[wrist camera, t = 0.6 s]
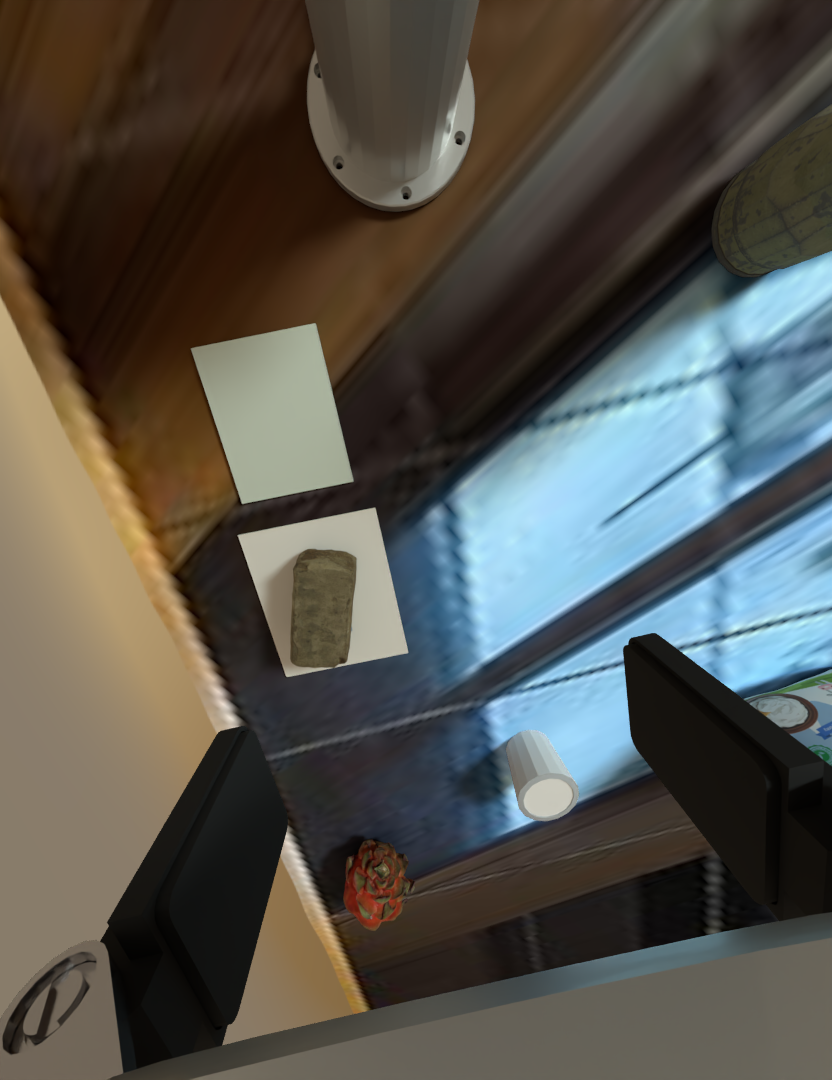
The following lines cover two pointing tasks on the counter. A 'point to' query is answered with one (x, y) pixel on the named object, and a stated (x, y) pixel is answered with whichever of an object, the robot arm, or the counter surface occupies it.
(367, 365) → the counter surface
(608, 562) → the counter surface
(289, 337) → the pale green pad
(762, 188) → the olive stone pillar
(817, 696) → the pouch
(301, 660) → the stone block
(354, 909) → the dragon fruit
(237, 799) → the robot arm
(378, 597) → the tile
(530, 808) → the white cylinder
